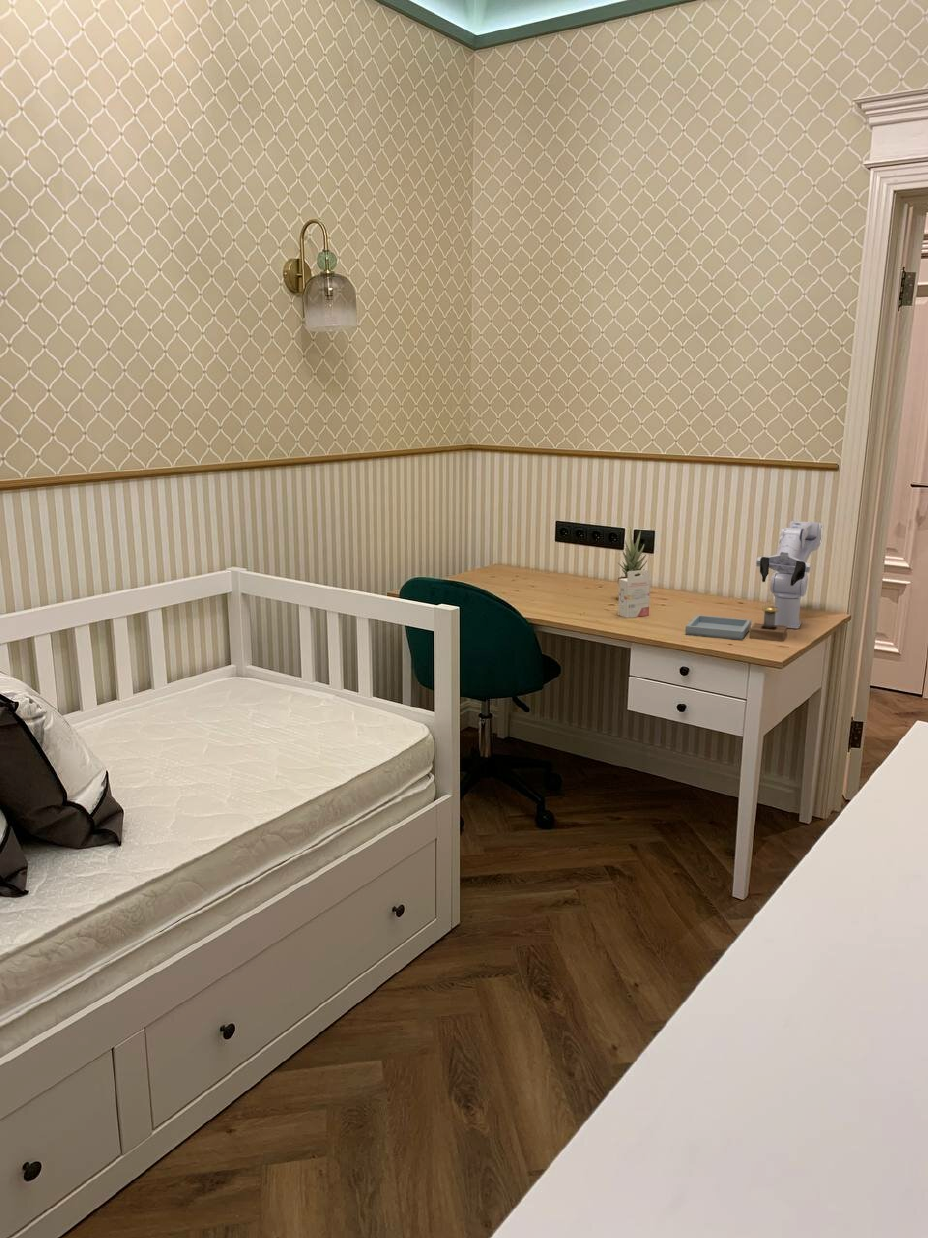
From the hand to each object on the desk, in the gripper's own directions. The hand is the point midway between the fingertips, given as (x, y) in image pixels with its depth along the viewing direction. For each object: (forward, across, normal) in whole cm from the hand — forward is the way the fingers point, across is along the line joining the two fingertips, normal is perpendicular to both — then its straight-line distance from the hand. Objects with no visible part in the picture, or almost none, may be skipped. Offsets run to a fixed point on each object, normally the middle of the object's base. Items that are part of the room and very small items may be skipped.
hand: (777, 580), depth 269 cm
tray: (+4, -15, +18) cm, 24 cm away
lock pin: (+3, -1, +17) cm, 18 cm away
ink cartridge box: (-4, -43, +23) cm, 49 cm away
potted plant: (-24, -51, +33) cm, 65 cm away
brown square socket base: (+3, -1, +17) cm, 18 cm away
